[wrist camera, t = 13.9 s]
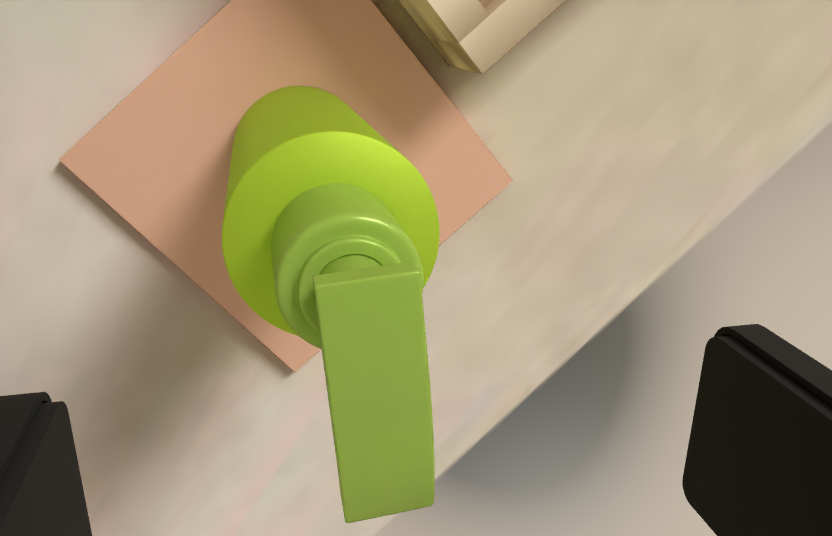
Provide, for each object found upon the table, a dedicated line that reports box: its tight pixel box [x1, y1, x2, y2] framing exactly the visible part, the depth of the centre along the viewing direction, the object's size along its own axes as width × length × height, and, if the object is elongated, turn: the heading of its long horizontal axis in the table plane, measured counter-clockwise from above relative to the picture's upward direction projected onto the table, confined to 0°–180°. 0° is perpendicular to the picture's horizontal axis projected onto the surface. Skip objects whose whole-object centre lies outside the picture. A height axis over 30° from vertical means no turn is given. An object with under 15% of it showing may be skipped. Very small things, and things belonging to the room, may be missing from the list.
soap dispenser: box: [222, 86, 440, 523], centre depth 22 cm, size 6×7×20 cm
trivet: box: [59, 0, 513, 372], centre depth 32 cm, size 14×14×1 cm
